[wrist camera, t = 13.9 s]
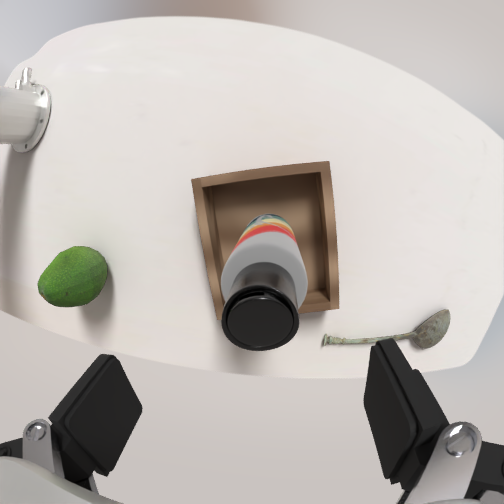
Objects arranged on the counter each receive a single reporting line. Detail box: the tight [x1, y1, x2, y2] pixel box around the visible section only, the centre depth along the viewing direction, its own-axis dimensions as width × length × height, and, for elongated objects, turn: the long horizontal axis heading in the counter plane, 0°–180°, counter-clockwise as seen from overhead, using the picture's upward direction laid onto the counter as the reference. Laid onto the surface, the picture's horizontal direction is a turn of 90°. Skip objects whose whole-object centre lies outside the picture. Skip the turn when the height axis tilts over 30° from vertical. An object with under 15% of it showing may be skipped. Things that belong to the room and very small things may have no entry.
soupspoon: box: [324, 310, 450, 348], centre depth 34 cm, size 22×3×7 cm
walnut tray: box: [191, 161, 339, 320], centre depth 30 cm, size 16×14×5 cm
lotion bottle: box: [221, 214, 308, 351], centre depth 22 cm, size 6×6×20 cm
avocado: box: [38, 246, 107, 307], centre depth 30 cm, size 8×8×12 cm
